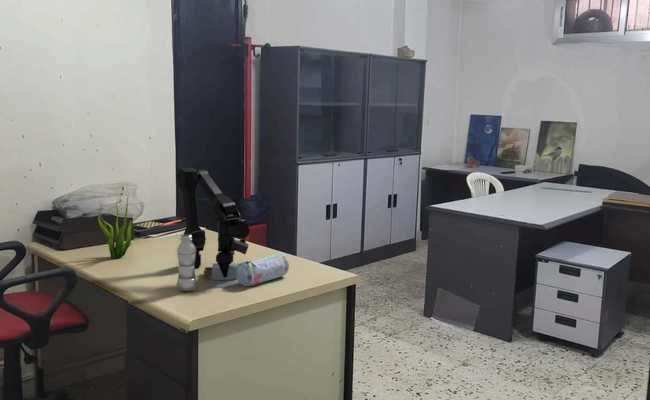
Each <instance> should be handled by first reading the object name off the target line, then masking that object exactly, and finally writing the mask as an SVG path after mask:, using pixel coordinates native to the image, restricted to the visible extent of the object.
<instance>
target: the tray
mask: <svg viewBox="0 0 650 400" xmlns="http://www.w3.org/2000/svg"><path fill="white" fill-rule="evenodd" d="M203 279H204V280H212V267H211V266H209V267H207V266H205V267H204V270H203Z"/></svg>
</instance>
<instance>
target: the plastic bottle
mask: <svg viewBox="0 0 650 400" xmlns="http://www.w3.org/2000/svg"><path fill="white" fill-rule="evenodd" d="M180 241H181V242H180V243H179V244H178V247H177V250H176V252H177V253H176V254H177V260H178V261H177V262H178V275H177V276H178V277H177V280H176V281H177V282H176V287H177V289H178V291H180V292H192V291H194V290H195V289H196V288H197V278H196V270H195V269H196V268H195V256H196V247H195V246H194V244H193V243H192V242H191V241H192V235H191V234H184V233H183V234H181V235H180Z"/></svg>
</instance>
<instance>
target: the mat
mask: <svg viewBox="0 0 650 400" xmlns="http://www.w3.org/2000/svg"><path fill="white" fill-rule="evenodd" d="M239 288H240V289H241V288H242V285H241V284H240V283H239V282H238V280H235V281H234V280H227V281H226V280H225V281H224V280H221V281H219V280H218V281H217V280H216V281H215V280H211V281H210V280H209V281H208V282H207V285H206V289H239Z"/></svg>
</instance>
